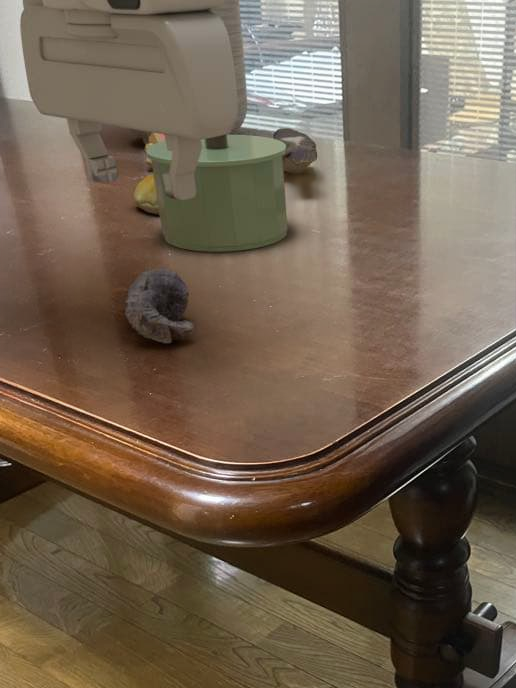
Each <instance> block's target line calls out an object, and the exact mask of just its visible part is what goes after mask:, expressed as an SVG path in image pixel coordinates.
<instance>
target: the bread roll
mask: <svg viewBox="0 0 516 688" xmlns="http://www.w3.org/2000/svg"><path fill="white" fill-rule="evenodd" d="M133 198H134V199H133V200H134V203H135V205H136V206H137V207H138V208H139V209H141V210H143V211H144V212H147V213H149V214H152V215H157V216H158V215H159V216H160V214H159V208H158V201H157V195H156V188H155V181H154V175H153V173H151V174H149V175H147V176H146V177H145V178H143V179H142V180H141V181H140V182H139V183H138V184H137V185H136V187H135V191H134V193H133Z"/></svg>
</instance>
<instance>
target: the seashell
mask: <svg viewBox="0 0 516 688" xmlns="http://www.w3.org/2000/svg"><path fill="white" fill-rule="evenodd" d="M126 295H127V297H126V300H125V303H124V308H125V309H124V310H125V318H126V319H127V321H128V323H129V325H131V328H132V329H134V330H135V331H136V332H137V333H138V335H141V336H142V337H143V338H145V339H151V340H153V341H156V342H158V343H162V344H171V343H172V341H173V333H174V334H177V335H179V336H180V337H181V338H183V337H185V336H188V335H189V334H190V333H191V332H194V323H193V322H191V321H189V320H182V321H180V320H181V319H182V318H183V317H184V315H185V313H186V311H187V308H188V304H189V297H190V295H189V290H188V285H187V284H186V282H185V281H184V280H183V278H182V277H181V276H179V275H178V274H177V272H174V271H171V270H169V269H166V268H165V269H164V268H154V269H149V270H145V271H143V272H141V273H140V274H139V275H138V276H136V278H135V279H133V281H132V282H131V285H130V287H129V288H128V292H127V293H126Z"/></svg>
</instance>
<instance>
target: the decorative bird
mask: <svg viewBox="0 0 516 688" xmlns="http://www.w3.org/2000/svg"><path fill="white" fill-rule="evenodd" d="M272 139H276V140H279V141H281V142H283V143H285V145H286V153H285V154H284V155H282V159H283V171H285V172H286V173H289V174H293V175H296V174H301V173H303V172H304V171H305V170H306V169H307V168H308V167H309V166H310V165H311V164H312V163H313V162H316V161H317V159H318V150H317V144H316V142H315V141H314V140H313V139H312V138H311V137H310V136H309V135H307V134H306V133H303V132H302V131H298V130H296V129H293V128H290V127H289V128H287V127H285V128H283V127H282V128H278V129H276V130H275V131H274V132H273V134H272Z"/></svg>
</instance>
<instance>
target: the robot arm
mask: <svg viewBox="0 0 516 688" xmlns="http://www.w3.org/2000/svg"><path fill="white" fill-rule="evenodd" d="M223 5H224V0H22V7H23V9H22V11H21V15H20V19H19V20H20V21H19V22H20V23H19V26H20V27H19V30H20V40H21V48H22V56H23V62H24V70H25V76H26V81H27V86H28V92H29V95H30V99H31V101H32V102H33V104H34V106H35V108H36V109H37V110H38V112H39V113H40V114H41V115H44V116H48V117H54V118H61V119H66V120H67V126H68V130H69V134H70V136H71V138H72V139H73V142H74V144H75V145H76V147H77V149H78V151H79V152H80V154H81V155H82V156H81V157H82V158H84V161H85V167H86V171H87V175H88V178H89V180H91V181H92V182H95V183H102V184H108V183H110V182H111V183H112V182H115V181H117V180H118V177H119V173H118V170H117V161H116V157H115V156H113V155H109V153H108V150H107V148H106V145H105V143H104V140H103V138H102V135H101V134H100V132H103V126H109V127H110V126H112V127H116V128H123V129H128V130H129V129H130V130H131V129H134V130H140V131H147V132H153V133H159V134H165V141H166V147H167V150H168V151H172V152H173V153H172V159H171V165H170V172H168V173H163V174H162V175H163V181H164V184H165V186H166V187H165V193H166V195H167V196H168V197H169V198H173V199H178V200H186V199H190V198H193V197H195V195H196V185H195V177H194V172H195V170H196V166H197V163H198V160H199V156H200V153H201V150H202V144H201V139H207V138H213V137H217V136H222V135H226V134H229V133H230V132H231V131H232V129H233V127H234V124H235V122H236V119H237V114H238V104H237V91H236V82H235V73H234V65H233V58H232V51H231V45H230V40H229V36H228V33H227V30H226V27H225V25H224V23H223V21H222V20H221V19H220V17H219V16H218V15H217V14H215V13H214V12H212V11H210V10H215V9H220V8H222V7H223Z"/></svg>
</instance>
